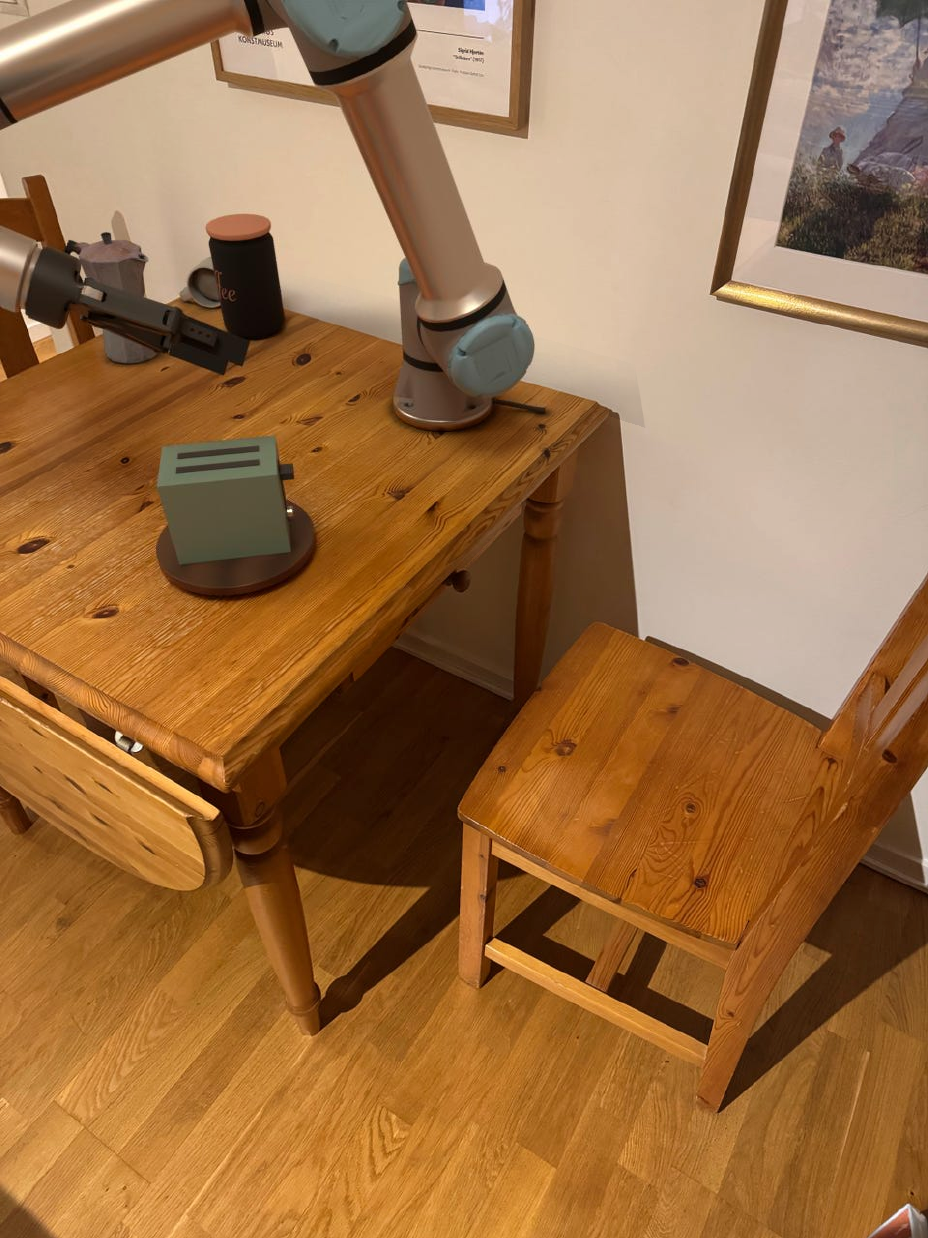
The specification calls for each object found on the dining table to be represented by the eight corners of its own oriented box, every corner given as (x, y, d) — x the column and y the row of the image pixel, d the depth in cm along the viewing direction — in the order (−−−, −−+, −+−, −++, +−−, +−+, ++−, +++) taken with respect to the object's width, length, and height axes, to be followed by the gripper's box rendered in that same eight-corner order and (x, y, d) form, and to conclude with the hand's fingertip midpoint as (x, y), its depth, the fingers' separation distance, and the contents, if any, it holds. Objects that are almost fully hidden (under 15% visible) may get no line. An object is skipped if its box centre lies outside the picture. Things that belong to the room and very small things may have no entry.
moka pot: (160, 369, 143) (127, 245, 129) (75, 361, 145) (35, 238, 132) (185, 344, 150) (156, 224, 136) (103, 337, 152) (68, 218, 138)
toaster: (152, 605, 98) (122, 516, 89) (163, 509, 112) (139, 424, 103) (320, 584, 100) (306, 496, 92) (311, 493, 114) (299, 409, 106)
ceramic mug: (242, 291, 167) (234, 250, 162) (231, 308, 161) (222, 266, 156) (188, 291, 167) (178, 250, 162) (175, 308, 161) (165, 266, 156)
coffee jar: (224, 319, 157) (204, 216, 145) (283, 313, 159) (268, 210, 147) (227, 344, 150) (205, 237, 138) (288, 338, 152) (273, 231, 139)
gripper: (29, 329, 99) (212, 396, 108) (12, 296, 77) (244, 385, 86) (47, 266, 99) (229, 339, 108) (35, 214, 76) (266, 312, 85)
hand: (236, 359), depth 97 cm, fingers open, 13 cm apart
